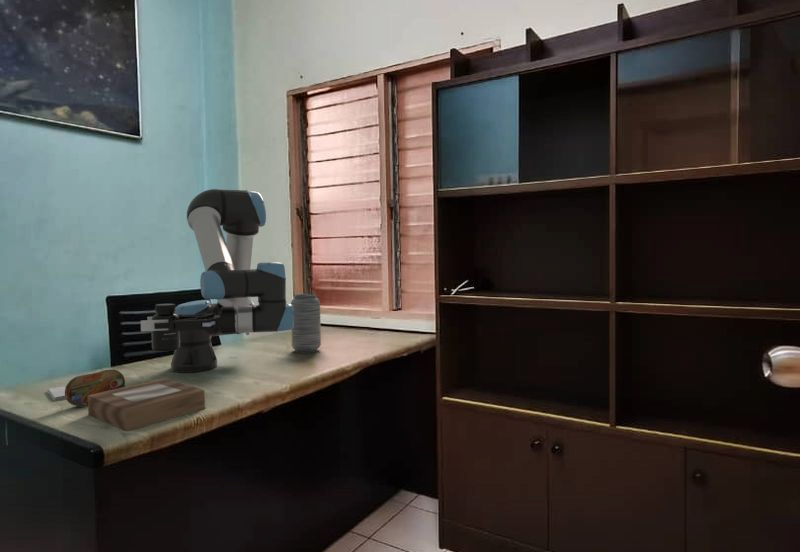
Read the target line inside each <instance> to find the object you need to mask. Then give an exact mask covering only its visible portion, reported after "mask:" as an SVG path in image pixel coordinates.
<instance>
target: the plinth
mask: <svg viewBox="0 0 800 552" xmlns="http://www.w3.org/2000/svg"><path fill="white" fill-rule="evenodd" d="M205 397H206V396H205V389H203V388H201V387H196V386H194V385H189V384H186V383H183V382H178V381H175V380H171V379H168V378H160V379H155V380H150V381H145V382H142V383H137V384H133V385H128V386H124V387H123V388H119V389H114V390H110V391H105V392H101V393H96V394H92V395H88V406H87V410H88V411H87V413H88V414H87V415H88V416H91V417H93V418H95V419H97V420H99V421H102V422H104V423H106V424H108V425H112V426H114V427H115V428H118V429H121V430H122V431H125V432H129V431H133V430H135V429H138V428H139V429H140V428H142V427H146V426H150V425H152V424H156V423H159V422H162V421H166V420H170V419H173V418H177V417H180V416H183V415H184V416H185V415H187V414H191V413H194V412H198V411H200V410H204V409H206V404H205V403H206V400H205V399H206V398H205Z"/></svg>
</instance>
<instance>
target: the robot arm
mask: <svg viewBox="0 0 800 552" xmlns="http://www.w3.org/2000/svg"><path fill="white" fill-rule="evenodd" d="M186 210H187V211H186V221H187V225H188V226H189V228H190V230H192V231H193V232H194V233H193V234H194V236H195V240H196V242H197V247H198V249H199V253H200V257H201V261H202V263H203V267H204V270H205V271H203V272H201V275H200V280H199V282H200V283H199V284H200V286H199V287H200V293H201V296H202V298H204V299H201V300H199V299H198V300H194V301H193V300H192V301H187V302H185V303H181V304H178V305H177V306H175V309H176V311H175V314H177V315H178V316H179V318H180V320H171V318H168V319H167V320H152V317H153V316H147V318H146V319H147V320H145V319H144V320H140V332H152V331H162V330H170V331H171V332H173V331H180V348H179V349H176V350H173V351H174V352H173V354H172V357H171V362H170V371H172V372H174V373H197V372H198V373H199V372H204V371H209V370H212V369H215V368H217V366H218V359H217V356H216V353H215V350H214V348H213V345H212V337H217V336H230V335H241V334H245V335H246V336H250V333H253V334H254V333H273V332H274V333H275V332H276V333H279V332H284V331H285V332H287V331H291V329H292V328H293V327H294V310H293V305H292V304H291V303H287V297H286V295H287V293H286V292H287V291H286V290H287V286H286V282H287V281H286V279H287V277H286V268H285V265H284V263H283V262H280V261H279V262H278V261H275V262H274V261H271V262H270V261H265V262H258V263H257V264H256V265H257V266H256V268H254V269H251V264H252V256H253V255H252V254H253V245H254V243H253V241H254V237H255V236H257V235H258V234H259V233H260V232H259V231H260V230H259V229H260V227H261V228H262V227H264V226H265V225H266V223H267V211H266V205H265V201H264V199H263V196H262V195H261V193H259V192H258V191H252V190H247V189H245V190H244V189H242V190H239V189H218V188H212V189H206V190H204V191H202V192H200V193H198V194H197V195H195V196H194V198H193V199H192V200H191V202H190V203H189V205H188V207H187V209H186ZM221 226H222V228H221ZM223 232H224V233H225V234H226V238H225V236H224V233H223ZM252 298H257V303H258V305H255V304H256V303H254V301H253V300H252ZM210 300H217V302H216V303H211V301H210Z"/></svg>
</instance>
